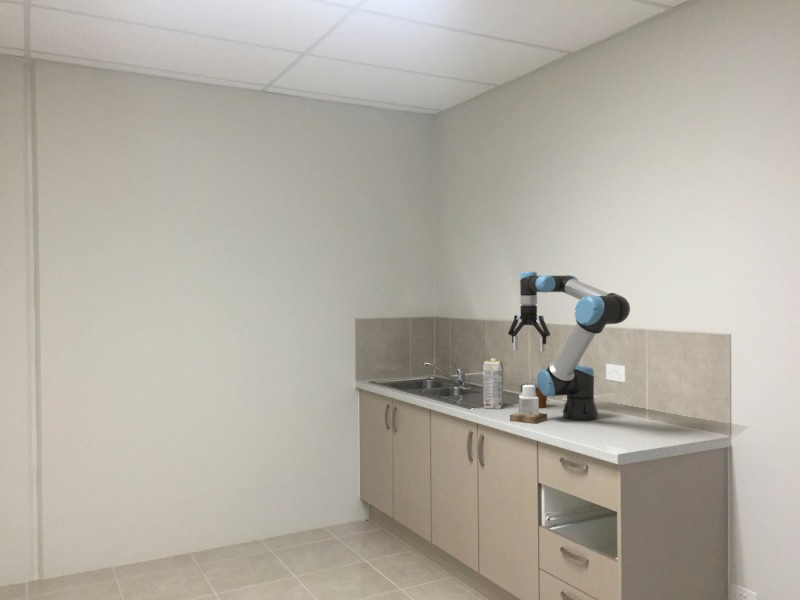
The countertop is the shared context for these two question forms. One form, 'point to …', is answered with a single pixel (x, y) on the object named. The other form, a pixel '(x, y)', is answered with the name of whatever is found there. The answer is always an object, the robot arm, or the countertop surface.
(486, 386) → the juice carton
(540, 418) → the stand
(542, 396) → the disposable coffee cup
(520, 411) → the container
